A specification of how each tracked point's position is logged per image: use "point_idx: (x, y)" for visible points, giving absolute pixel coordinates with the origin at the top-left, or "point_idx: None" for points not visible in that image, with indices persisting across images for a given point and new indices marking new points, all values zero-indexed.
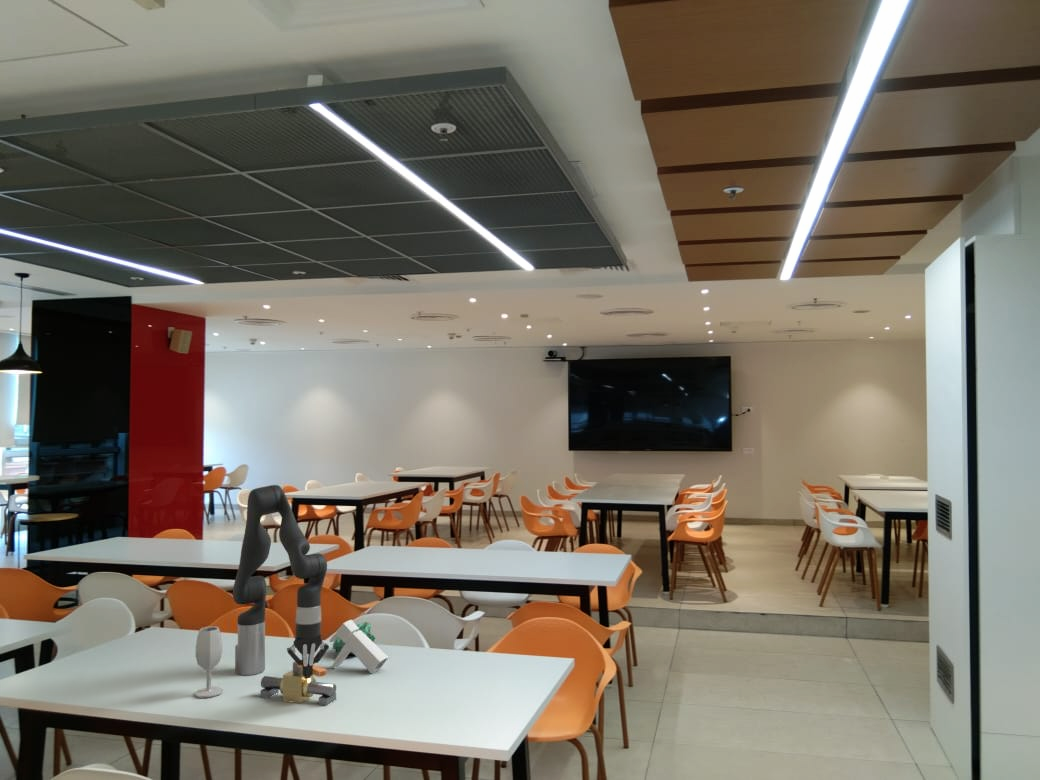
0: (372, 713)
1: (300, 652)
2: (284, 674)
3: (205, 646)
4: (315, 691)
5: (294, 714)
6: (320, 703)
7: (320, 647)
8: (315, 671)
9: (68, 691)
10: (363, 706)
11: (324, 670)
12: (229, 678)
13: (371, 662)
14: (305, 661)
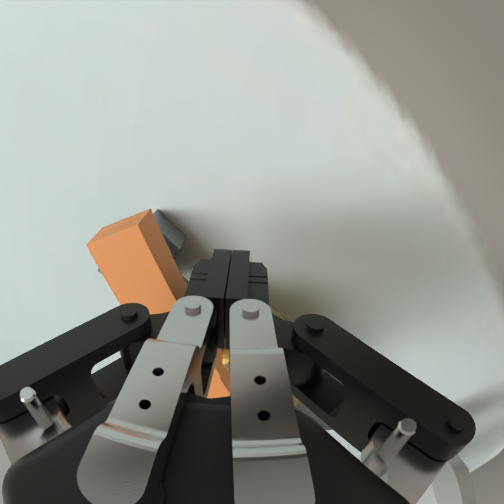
0: (32, 63)
1: (319, 426)
2: (300, 402)
3: (467, 491)
4: (187, 282)
5: (297, 181)
6: (178, 232)
7: (57, 428)
8: (168, 276)
9: (498, 434)
10: (42, 142)
11: (100, 238)
12: None
13: None
14: (251, 331)
